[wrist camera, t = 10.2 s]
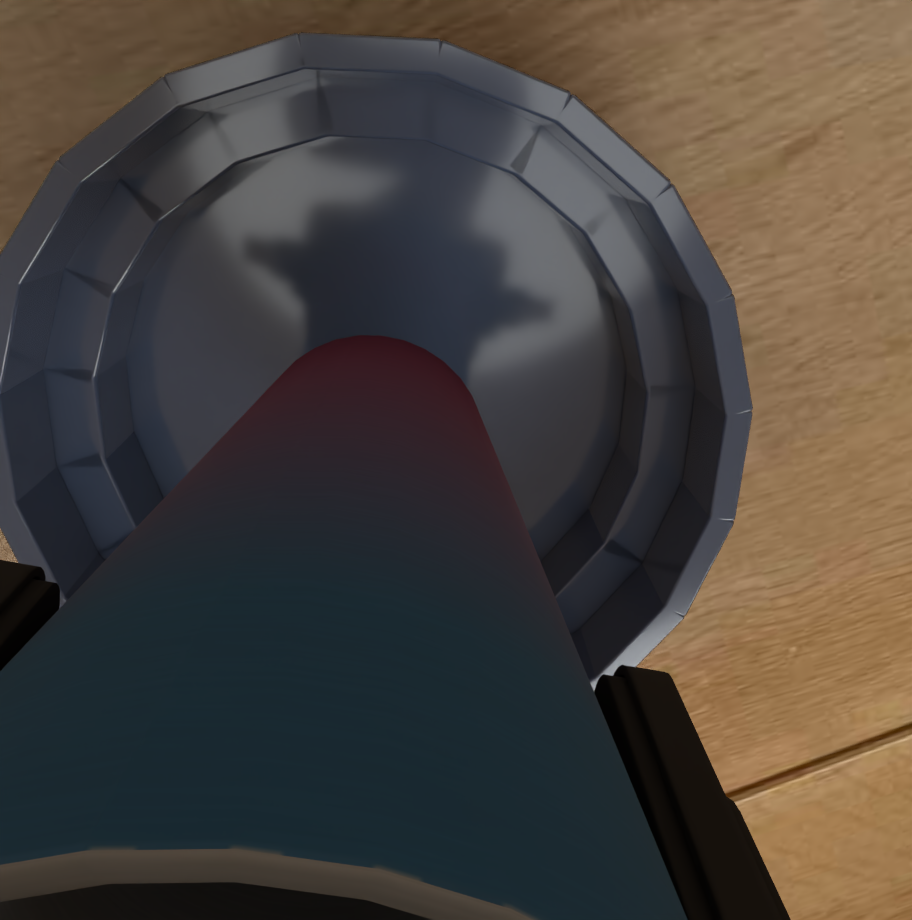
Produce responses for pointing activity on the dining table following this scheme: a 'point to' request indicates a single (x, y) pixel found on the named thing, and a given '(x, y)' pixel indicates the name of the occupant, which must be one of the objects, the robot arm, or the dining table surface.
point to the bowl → (378, 308)
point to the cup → (322, 688)
